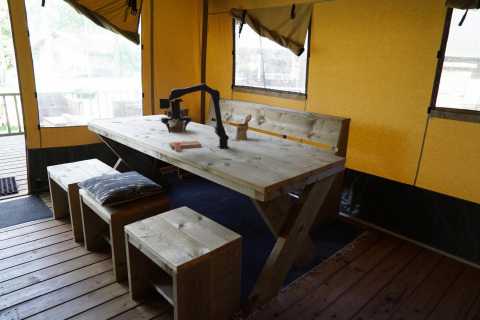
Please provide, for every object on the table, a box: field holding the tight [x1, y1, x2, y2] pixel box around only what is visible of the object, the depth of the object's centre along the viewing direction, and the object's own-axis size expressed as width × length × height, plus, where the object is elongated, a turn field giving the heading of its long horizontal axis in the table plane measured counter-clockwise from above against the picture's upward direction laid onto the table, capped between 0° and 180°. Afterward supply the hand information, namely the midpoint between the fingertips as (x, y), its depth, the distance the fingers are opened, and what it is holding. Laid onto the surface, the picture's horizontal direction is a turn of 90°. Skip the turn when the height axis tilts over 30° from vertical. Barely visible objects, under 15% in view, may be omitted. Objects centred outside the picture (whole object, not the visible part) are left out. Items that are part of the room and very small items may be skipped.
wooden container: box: [166, 107, 187, 133], centre depth 278 cm, size 15×15×22 cm
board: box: [169, 140, 202, 150], centre depth 231 cm, size 10×20×2 cm, turn 112°
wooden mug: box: [235, 114, 253, 141], centre depth 255 cm, size 9×14×18 cm, turn 127°
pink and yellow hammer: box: [172, 140, 182, 152], centre depth 225 cm, size 13×4×6 cm, turn 22°
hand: (176, 132), depth 218 cm, fingers open, 9 cm apart
